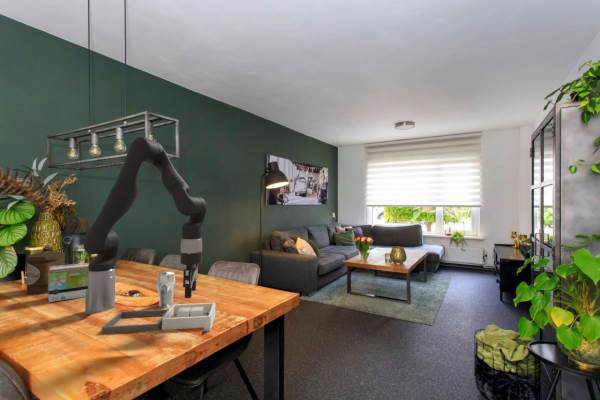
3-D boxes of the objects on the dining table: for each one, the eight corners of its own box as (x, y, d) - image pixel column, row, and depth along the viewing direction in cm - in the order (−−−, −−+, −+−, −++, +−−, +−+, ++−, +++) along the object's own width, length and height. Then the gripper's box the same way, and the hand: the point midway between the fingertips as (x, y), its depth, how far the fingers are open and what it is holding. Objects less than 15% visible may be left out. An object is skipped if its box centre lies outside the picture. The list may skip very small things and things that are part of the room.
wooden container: (24, 290, 149) (25, 246, 149) (61, 284, 160) (62, 243, 161) (29, 296, 139) (29, 249, 140) (68, 289, 151) (68, 246, 151)
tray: (101, 337, 98) (102, 327, 98) (121, 320, 113) (121, 311, 113) (158, 334, 101) (158, 324, 101) (169, 317, 115) (170, 309, 115)
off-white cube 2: (190, 322, 108) (190, 311, 108) (192, 317, 112) (192, 307, 112) (201, 321, 108) (201, 310, 108) (203, 317, 112) (203, 306, 112)
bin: (161, 333, 101) (162, 319, 101) (173, 317, 116) (173, 304, 116) (210, 330, 104) (210, 316, 104) (215, 315, 118) (215, 302, 118)
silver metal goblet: (153, 310, 123) (153, 274, 123) (165, 304, 130) (166, 270, 130) (166, 312, 121) (166, 275, 121) (178, 306, 127) (179, 271, 127)
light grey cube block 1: (177, 322, 107) (177, 311, 107) (179, 318, 111) (179, 307, 111) (188, 322, 108) (188, 311, 108) (190, 317, 112) (191, 307, 112)
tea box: (48, 303, 130) (49, 269, 130) (47, 297, 138) (48, 266, 138) (90, 296, 140) (90, 265, 140) (87, 291, 148) (87, 261, 148)
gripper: (185, 247, 116) (184, 288, 116) (175, 253, 102) (174, 300, 102) (205, 247, 117) (204, 288, 117) (198, 253, 103) (197, 300, 103)
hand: (190, 294), depth 110 cm, fingers open, 8 cm apart
